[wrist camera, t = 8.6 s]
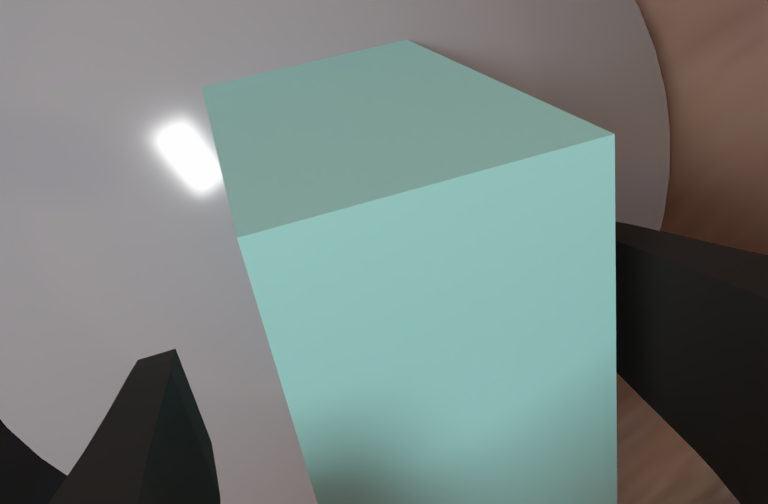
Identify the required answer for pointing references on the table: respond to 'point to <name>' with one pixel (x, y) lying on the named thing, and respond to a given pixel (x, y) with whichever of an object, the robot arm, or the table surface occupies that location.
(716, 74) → the table surface
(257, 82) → the tall mint rectangular block
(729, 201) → the table surface
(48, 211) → the plate
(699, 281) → the robot arm
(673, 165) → the table surface
